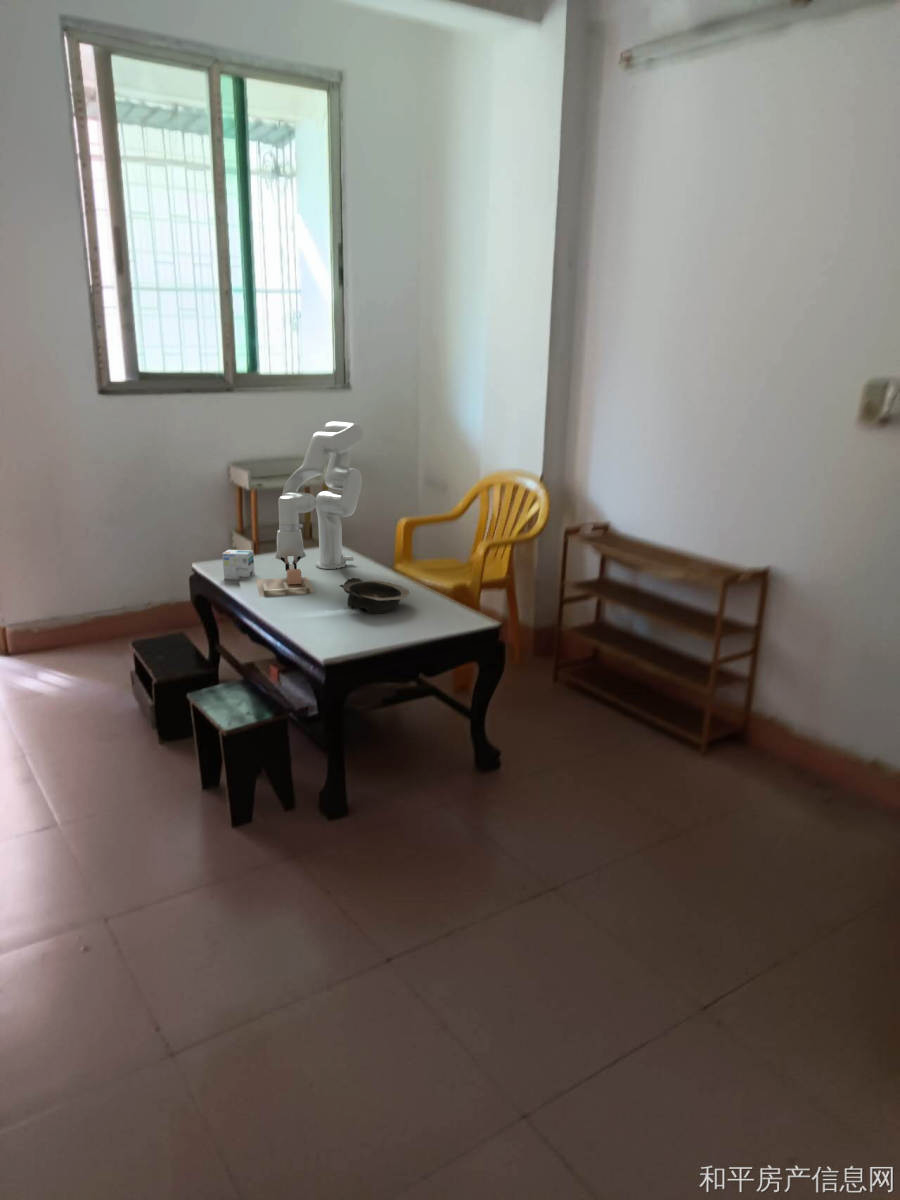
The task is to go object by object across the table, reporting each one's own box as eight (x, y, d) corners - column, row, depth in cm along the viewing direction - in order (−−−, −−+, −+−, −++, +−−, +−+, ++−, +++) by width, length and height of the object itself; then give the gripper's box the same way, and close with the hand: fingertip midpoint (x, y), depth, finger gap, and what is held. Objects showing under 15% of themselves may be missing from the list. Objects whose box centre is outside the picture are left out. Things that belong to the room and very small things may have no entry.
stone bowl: (325, 608, 294) (326, 582, 292) (373, 597, 314) (373, 573, 311) (377, 622, 280) (378, 595, 278) (423, 609, 299) (424, 584, 297)
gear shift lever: (298, 578, 328) (297, 563, 326) (301, 583, 316) (300, 568, 314) (285, 579, 326) (284, 564, 325) (288, 584, 314) (287, 568, 313)
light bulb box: (255, 575, 333) (253, 549, 329) (249, 580, 326) (248, 554, 323) (229, 574, 333) (227, 548, 330) (223, 579, 327) (221, 553, 324)
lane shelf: (307, 580, 327) (307, 571, 326) (314, 596, 307) (314, 587, 306) (256, 583, 322) (255, 574, 321) (259, 600, 302) (259, 591, 301)
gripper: (308, 524, 327) (310, 569, 333) (268, 526, 323) (270, 571, 329) (310, 528, 320) (312, 574, 326) (269, 530, 316) (271, 576, 322)
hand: (291, 572), depth 327 cm, fingers closed on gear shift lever, 1 cm apart
